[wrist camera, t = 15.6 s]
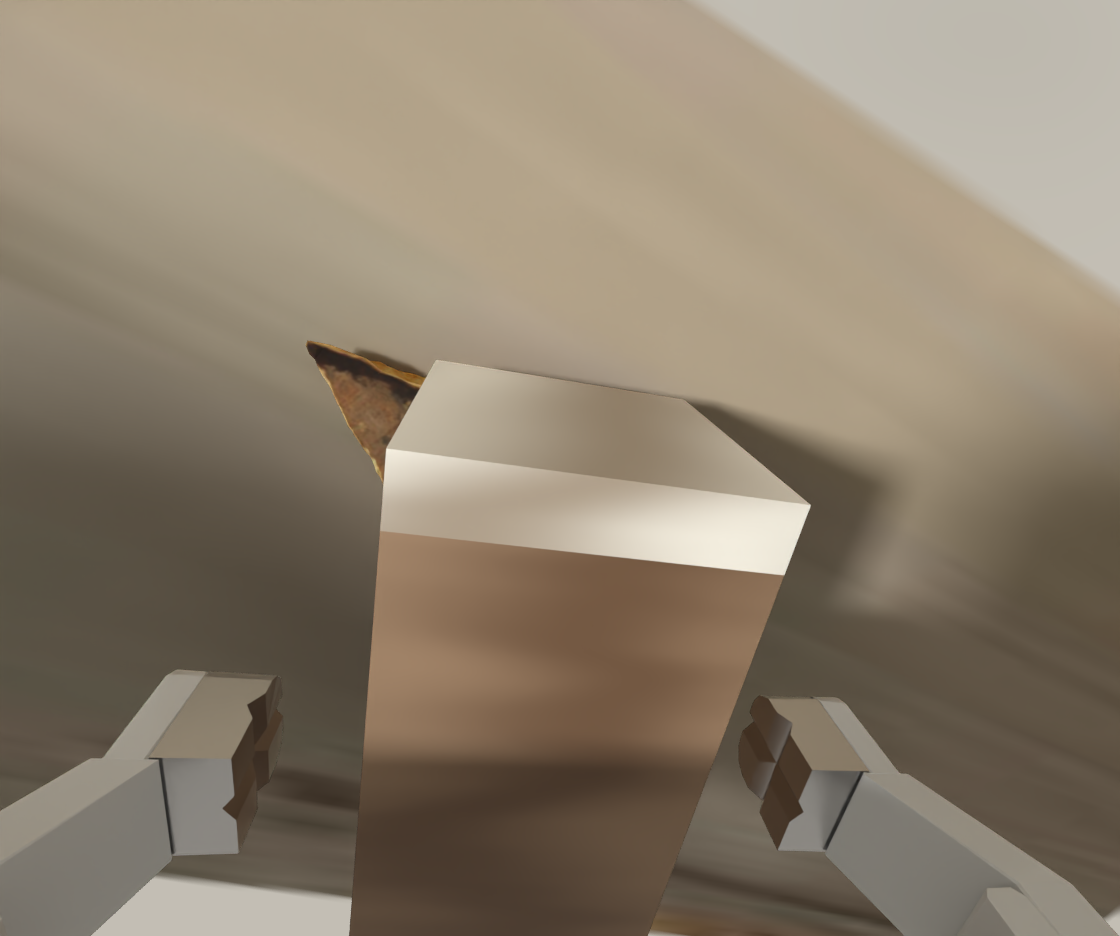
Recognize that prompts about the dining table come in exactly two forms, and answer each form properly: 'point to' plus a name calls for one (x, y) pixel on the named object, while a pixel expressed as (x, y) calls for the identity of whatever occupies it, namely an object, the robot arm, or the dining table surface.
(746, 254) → the dining table surface
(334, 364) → the shard
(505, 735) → the wooden block
